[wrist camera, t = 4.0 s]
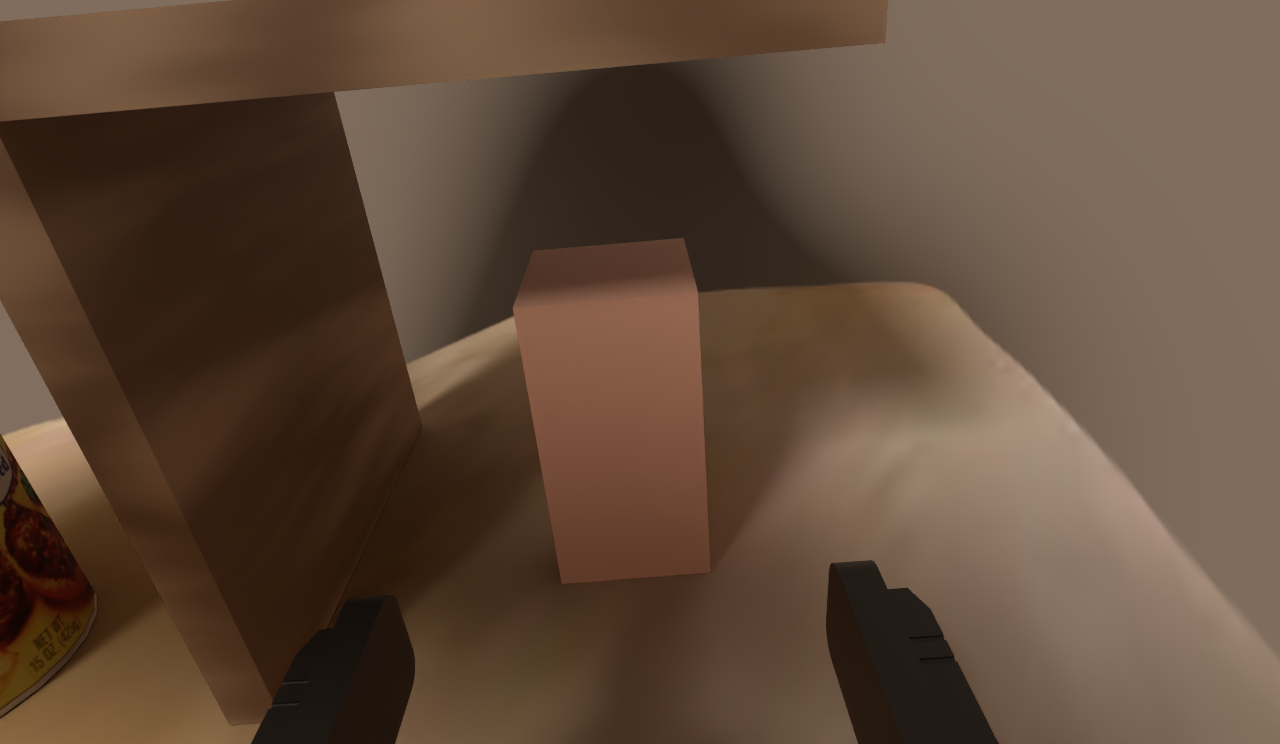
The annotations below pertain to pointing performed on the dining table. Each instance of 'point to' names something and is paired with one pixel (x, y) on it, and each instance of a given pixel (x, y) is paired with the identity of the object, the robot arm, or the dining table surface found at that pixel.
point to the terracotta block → (618, 407)
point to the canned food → (35, 590)
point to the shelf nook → (263, 268)
